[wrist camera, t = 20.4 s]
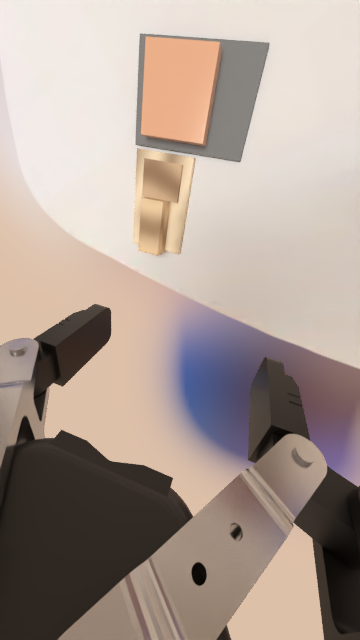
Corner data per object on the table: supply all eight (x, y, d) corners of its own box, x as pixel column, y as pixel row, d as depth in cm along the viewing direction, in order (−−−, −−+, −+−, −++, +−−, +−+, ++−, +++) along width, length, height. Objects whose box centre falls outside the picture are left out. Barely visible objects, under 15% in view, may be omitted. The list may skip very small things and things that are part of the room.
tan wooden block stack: (171, 252, 39) (164, 257, 36) (140, 245, 40) (131, 249, 37) (183, 165, 32) (175, 162, 29) (145, 158, 33) (135, 155, 30)
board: (195, 158, 32) (194, 157, 32) (180, 253, 40) (178, 254, 39) (139, 149, 34) (137, 148, 33) (135, 242, 41) (133, 242, 40)
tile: (219, 41, 24) (145, 36, 26) (202, 143, 29) (140, 134, 31) (222, 52, 26) (152, 46, 28) (205, 146, 31) (147, 137, 32)
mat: (269, 44, 25) (269, 42, 25) (240, 161, 31) (239, 161, 31) (141, 35, 28) (139, 33, 27) (136, 144, 34) (135, 144, 33)
